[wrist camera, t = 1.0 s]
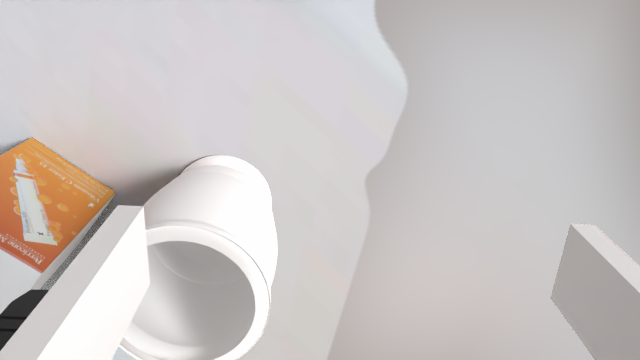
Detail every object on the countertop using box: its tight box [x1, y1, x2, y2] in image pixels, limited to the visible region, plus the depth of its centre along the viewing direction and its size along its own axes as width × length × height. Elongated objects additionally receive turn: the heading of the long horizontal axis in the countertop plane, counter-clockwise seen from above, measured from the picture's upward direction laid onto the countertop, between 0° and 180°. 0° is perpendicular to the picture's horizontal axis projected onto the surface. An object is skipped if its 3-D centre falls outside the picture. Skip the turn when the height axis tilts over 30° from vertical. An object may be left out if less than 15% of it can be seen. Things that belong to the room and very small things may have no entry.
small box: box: [0, 138, 116, 314], centre depth 38 cm, size 8×6×13 cm
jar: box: [119, 155, 278, 360], centre depth 37 cm, size 11×10×15 cm
